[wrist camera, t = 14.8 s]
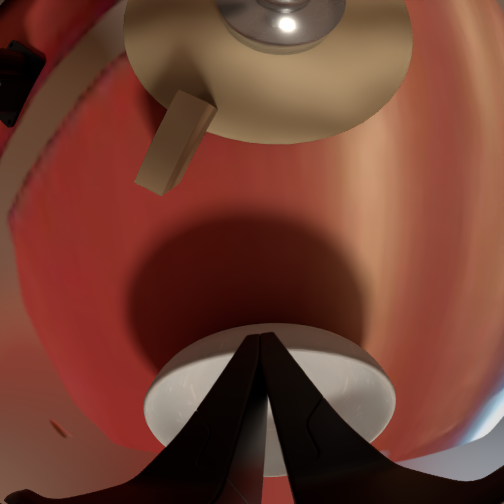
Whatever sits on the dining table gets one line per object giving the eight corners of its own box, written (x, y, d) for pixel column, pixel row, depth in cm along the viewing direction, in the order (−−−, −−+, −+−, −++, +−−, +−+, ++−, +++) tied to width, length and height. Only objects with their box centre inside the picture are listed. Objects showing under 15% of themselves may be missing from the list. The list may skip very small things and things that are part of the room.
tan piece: (132, -51, 10) (108, -80, 5) (374, -63, 9) (396, -91, 5) (146, 186, 18) (114, 204, 13) (417, 164, 17) (459, 177, 13)
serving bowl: (197, 247, 20) (174, 299, 14) (411, 328, 24) (442, 377, 17) (145, 401, 28) (131, 449, 22) (305, 440, 31) (310, 483, 25)
